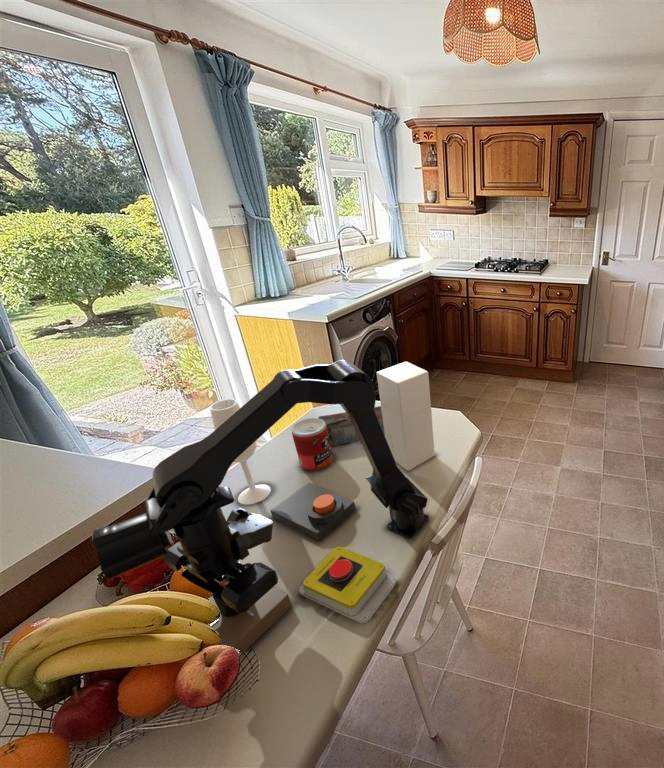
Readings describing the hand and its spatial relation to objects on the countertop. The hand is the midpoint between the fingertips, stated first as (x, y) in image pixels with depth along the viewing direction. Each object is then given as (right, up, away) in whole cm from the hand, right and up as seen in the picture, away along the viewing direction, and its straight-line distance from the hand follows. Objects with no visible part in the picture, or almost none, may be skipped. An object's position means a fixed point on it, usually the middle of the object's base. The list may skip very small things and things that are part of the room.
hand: (235, 602), depth 67 cm
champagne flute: (-14, +10, +27) cm, 32 cm away
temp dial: (0, 0, 0) cm, 0 cm away
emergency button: (+16, -1, +7) cm, 17 cm away
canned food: (-5, +16, +38) cm, 42 cm away
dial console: (0, -3, +2) cm, 4 cm away
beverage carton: (+1, +21, +49) cm, 54 cm away
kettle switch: (+6, +10, +19) cm, 22 cm away
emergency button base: (+2, +7, +22) cm, 24 cm away
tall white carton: (+19, +16, +41) cm, 48 cm away
